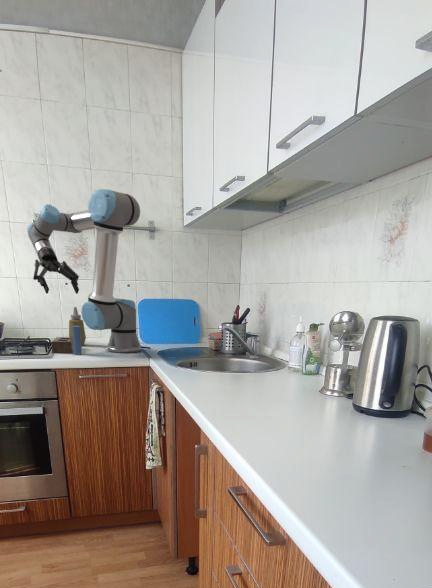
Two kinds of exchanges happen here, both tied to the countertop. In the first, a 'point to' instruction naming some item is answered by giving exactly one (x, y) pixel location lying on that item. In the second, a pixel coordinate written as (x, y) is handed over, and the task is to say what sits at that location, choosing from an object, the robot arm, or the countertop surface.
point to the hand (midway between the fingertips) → (62, 291)
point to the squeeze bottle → (77, 322)
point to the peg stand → (62, 345)
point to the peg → (76, 340)
